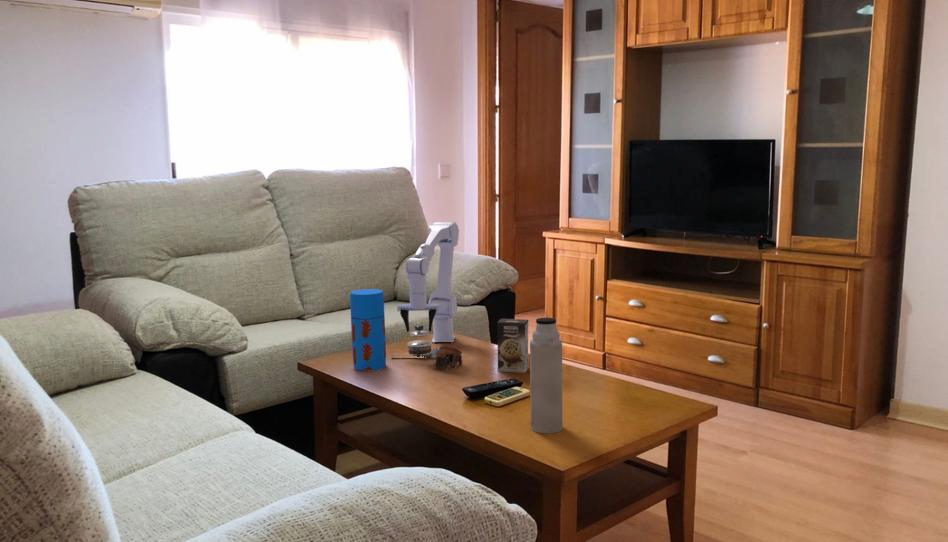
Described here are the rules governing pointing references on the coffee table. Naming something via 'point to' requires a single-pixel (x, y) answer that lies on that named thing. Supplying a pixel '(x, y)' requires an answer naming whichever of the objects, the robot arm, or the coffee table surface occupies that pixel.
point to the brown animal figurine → (447, 358)
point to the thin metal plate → (421, 349)
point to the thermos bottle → (546, 377)
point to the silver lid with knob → (419, 331)
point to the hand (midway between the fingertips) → (419, 331)
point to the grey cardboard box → (513, 345)
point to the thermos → (368, 329)
